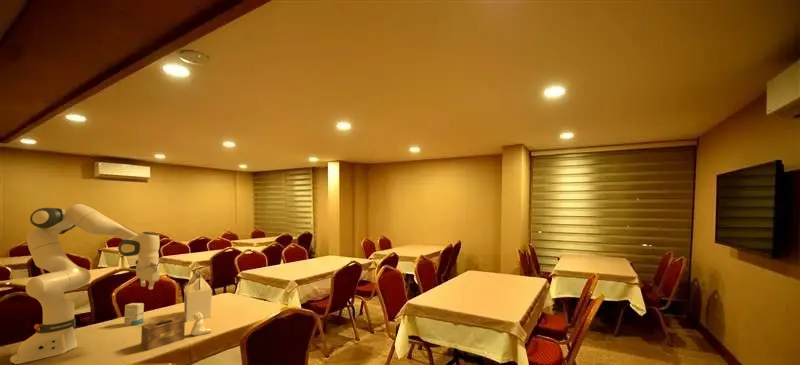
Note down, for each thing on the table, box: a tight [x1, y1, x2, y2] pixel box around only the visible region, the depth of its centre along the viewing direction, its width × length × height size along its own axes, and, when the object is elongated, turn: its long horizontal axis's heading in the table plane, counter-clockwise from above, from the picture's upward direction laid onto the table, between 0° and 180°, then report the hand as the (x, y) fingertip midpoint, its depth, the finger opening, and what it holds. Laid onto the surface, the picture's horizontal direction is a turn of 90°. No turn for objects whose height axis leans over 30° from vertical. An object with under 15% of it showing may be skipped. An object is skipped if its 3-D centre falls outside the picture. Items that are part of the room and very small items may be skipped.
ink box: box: [123, 302, 145, 326], centre depth 199 cm, size 9×5×12 cm, turn 84°
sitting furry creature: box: [190, 312, 212, 337], centre depth 182 cm, size 10×9×12 cm
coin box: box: [140, 315, 186, 351], centre depth 171 cm, size 16×10×10 cm, turn 144°
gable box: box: [183, 269, 213, 323], centre depth 214 cm, size 22×13×28 cm, turn 37°
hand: (146, 287), depth 177 cm, fingers open, 8 cm apart
